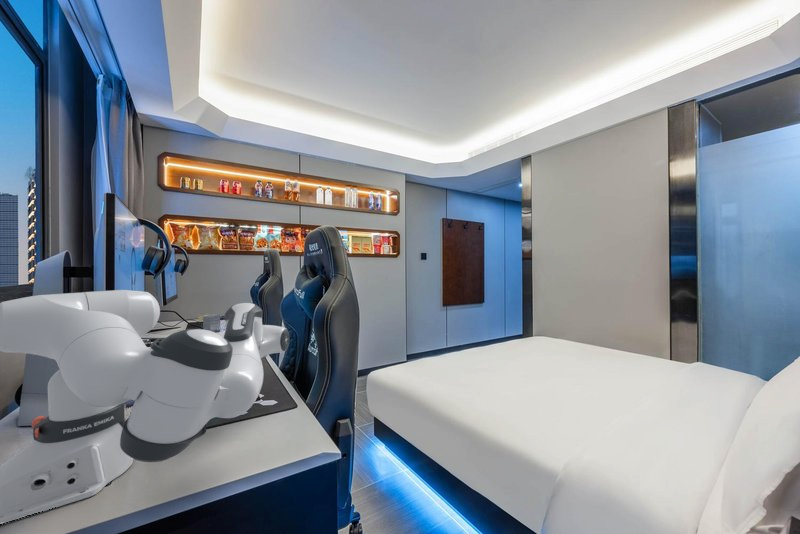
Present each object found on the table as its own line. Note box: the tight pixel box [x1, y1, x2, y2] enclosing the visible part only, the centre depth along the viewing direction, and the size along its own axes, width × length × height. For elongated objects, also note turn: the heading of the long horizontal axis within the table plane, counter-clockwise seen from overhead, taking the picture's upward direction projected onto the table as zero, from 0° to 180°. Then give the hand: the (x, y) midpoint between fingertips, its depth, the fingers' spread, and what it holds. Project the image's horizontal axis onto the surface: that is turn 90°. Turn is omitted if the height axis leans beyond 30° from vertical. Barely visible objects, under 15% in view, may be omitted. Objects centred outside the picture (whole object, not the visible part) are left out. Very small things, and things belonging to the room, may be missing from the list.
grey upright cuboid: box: [197, 313, 221, 333], centre depth 107 cm, size 5×4×17 cm
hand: (209, 335), depth 107 cm, fingers closed on grey upright cuboid, 4 cm apart
